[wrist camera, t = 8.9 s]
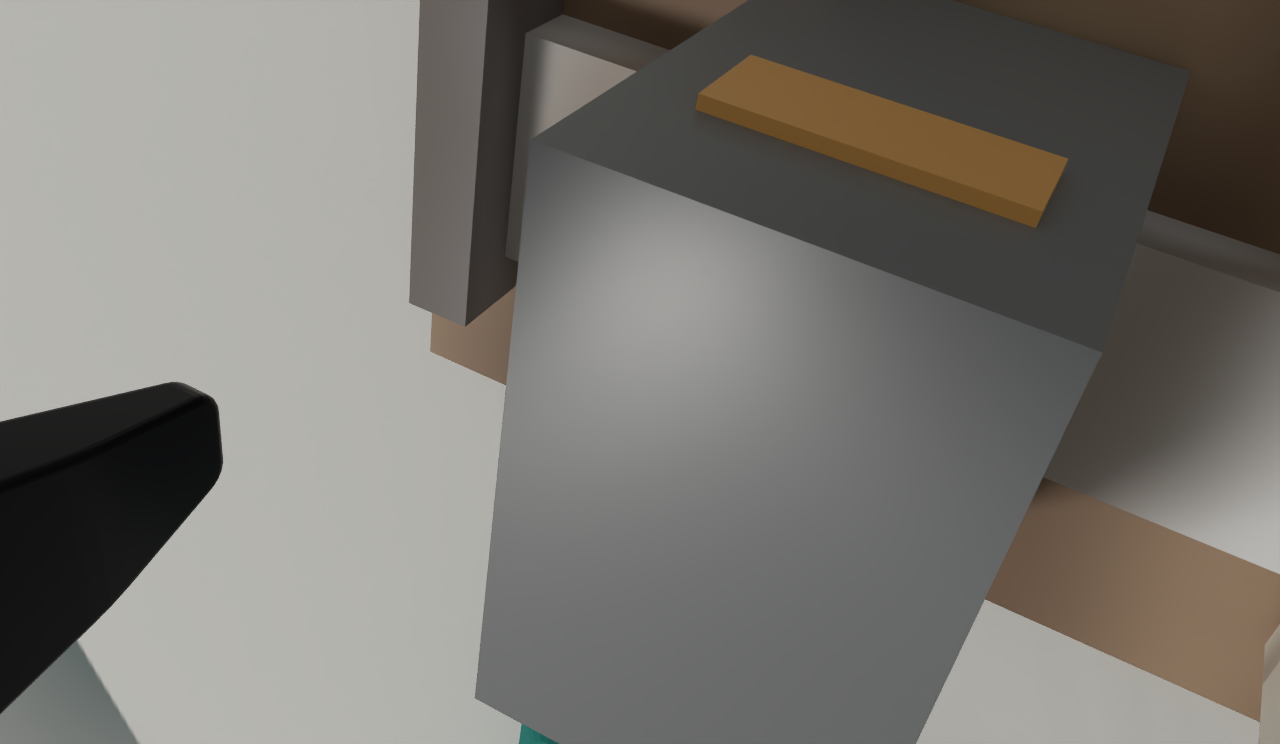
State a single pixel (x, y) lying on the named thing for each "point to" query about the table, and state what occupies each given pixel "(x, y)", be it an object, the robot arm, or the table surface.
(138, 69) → the table surface
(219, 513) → the table surface
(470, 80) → the din panel
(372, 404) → the table surface
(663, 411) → the block
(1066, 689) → the table surface
